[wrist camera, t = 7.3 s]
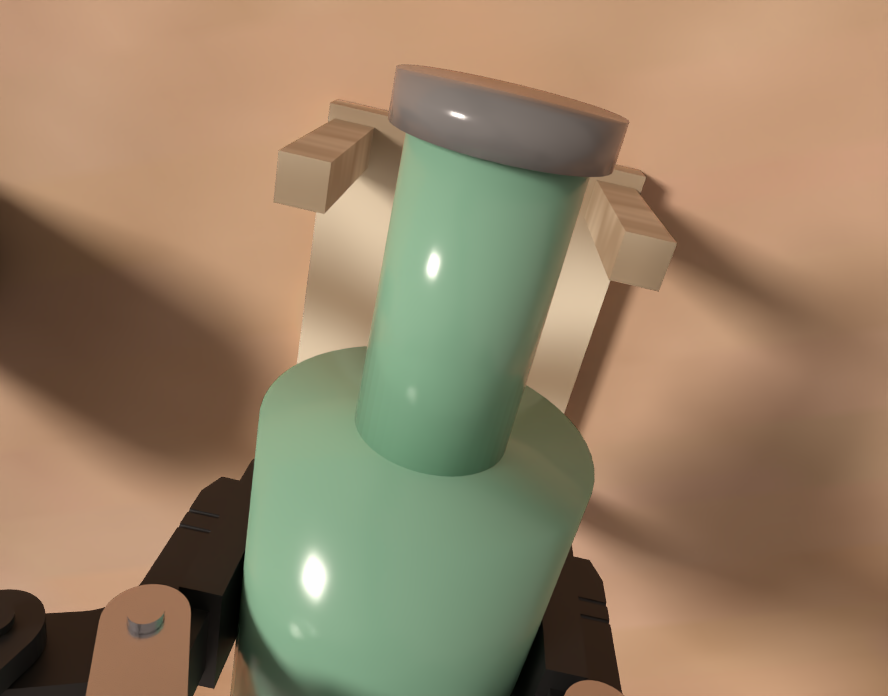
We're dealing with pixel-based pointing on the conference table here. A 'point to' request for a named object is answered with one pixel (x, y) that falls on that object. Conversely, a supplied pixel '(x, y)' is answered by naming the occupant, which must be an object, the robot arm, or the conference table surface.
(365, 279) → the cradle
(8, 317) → the conference table surface
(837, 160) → the conference table surface
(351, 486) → the bottle
